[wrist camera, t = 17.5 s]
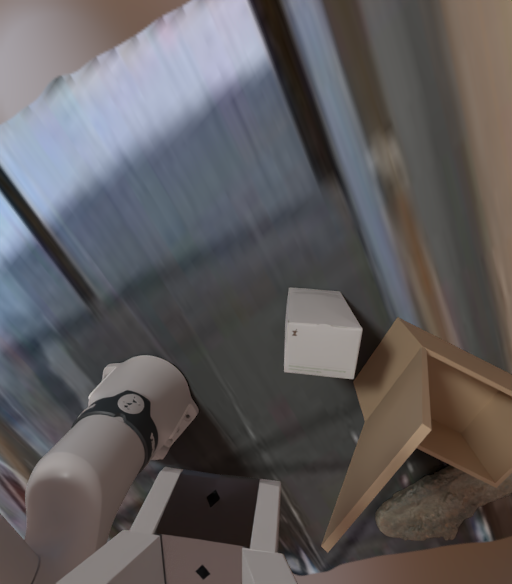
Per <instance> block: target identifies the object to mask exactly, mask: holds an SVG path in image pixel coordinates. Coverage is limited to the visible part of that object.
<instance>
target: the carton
mask: <svg viewBox="0 0 512 584" xmlns="http://www.w3.org/2000/svg"><path fill="white" fill-rule="evenodd" d="M421 347H423V348H425V349H426V350H427V366H428V381H429V397H430V412H431V428H432V430H431V431H430V432H429V434H428V435H427V436H426V437H425V438H424V439H423V441H422V442H421V443H420V444H419V445H418V447H417V449H419V450H421V451H423V452H425V453H427V454H429V455H431V456H433V457H435V458H437V459H439V460H441V461H443V462H445V463H447V464H449V465H451V466H453V467H455V468H457V469H459V470H461V471H463V472H465V473H467V474H469V475H471V476H473V477H475V478H477V479H479V480H481V481H483V482H485V483H487V484H489V485H491V486H493V487H495V488H497V487H498V486H499V485H500V484H501V483H502V482H503V481H504V480H505V479H506V478H507V477H508V476H509V475H510V474H511V473H512V375H511V374H509V373H507V372H505V371H503V370H502V369H500V368H498V367H496V366H494V365H492V364H490V363H488V362H486V361H484V360H482V359H480V358H478V357H476V356H474V355H472V354H470V353H468V352H466V351H464V350H462V349H460V348H458V347H456V346H454V345H452V344H450V343H448V342H446V341H444V340H442V339H440V338H438V337H436V336H434V335H432V334H430V333H428V332H426V331H424V330H422V329H420V328H418V327H416V326H414V325H412V324H410V323H408V322H406V321H404V320H402V319H400V318H397V319H396V320H395V322H394V323H393V325H392V326H391V328H390V329H389V331H388V332H387V333H386V335H385V336H384V338H383V339H382V341H381V342H380V344H379V345H378V347H377V348H376V349H375V351H374V352H373V354H372V355H371V357H370V358H369V360H368V361H367V362H366V364H365V365H364V367H363V368H362V370H361V371H360V373H359V374H358V375H357V377H356V378H355V380H354V381H353V383H354V386H355V390H356V393H357V396H358V400H359V403H360V406H361V409H362V413H363V416H364V419H365V422H366V421H367V419H368V418H369V417H370V415H371V414H372V413H373V411H374V410H375V409H376V407H377V406H378V405H379V403H380V402H381V400H382V399H383V398H384V396H385V395H386V394H387V392H388V391H389V390H390V388H391V387H392V386H393V384H394V383H395V382H396V380H397V379H398V378H399V376H400V375H401V374H402V372H403V371H404V370H405V368H406V367H407V366H408V364H409V363H410V362H411V360H412V359H413V358H414V356H415V355H416V354H417V352H418V351H419V350H420V348H421Z"/></svg>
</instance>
